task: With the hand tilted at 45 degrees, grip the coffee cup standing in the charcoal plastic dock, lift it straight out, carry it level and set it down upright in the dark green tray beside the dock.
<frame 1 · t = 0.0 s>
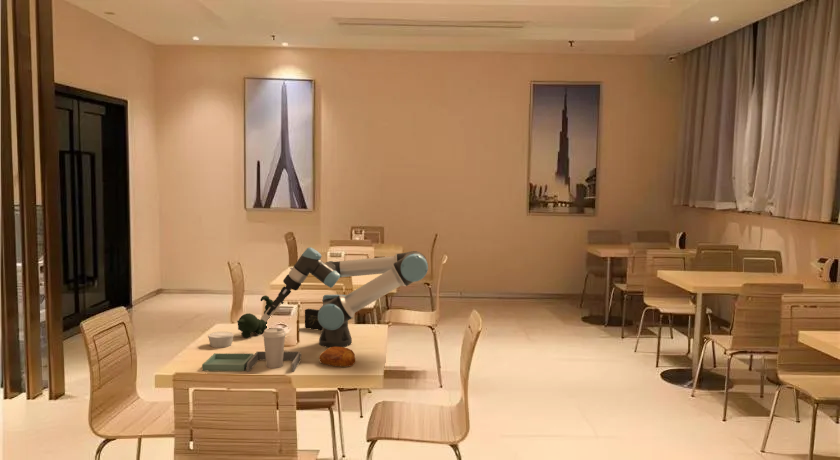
hand: (266, 316, 302), 15 cm above the table, fingers open, 13 cm apart
toy figurine: (255, 334, 333), on the table
tray: (228, 365, 280), on the table
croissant: (339, 363, 285), on the table
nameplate: (322, 330, 343), on the table
coffee cup: (274, 366, 279), resting in dock
ramekin: (221, 345, 312), on the table
dock: (274, 365, 279), on the table
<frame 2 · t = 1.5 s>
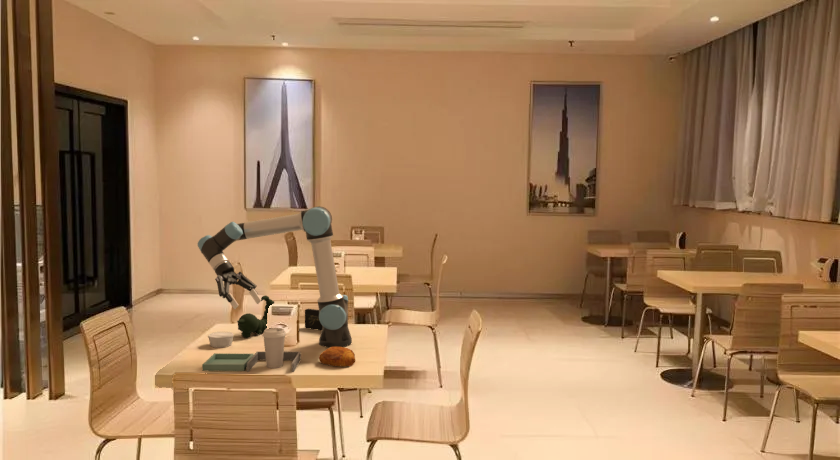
hand: (248, 304, 288), 23 cm above the table, fingers open, 13 cm apart
nothing on the table moved.
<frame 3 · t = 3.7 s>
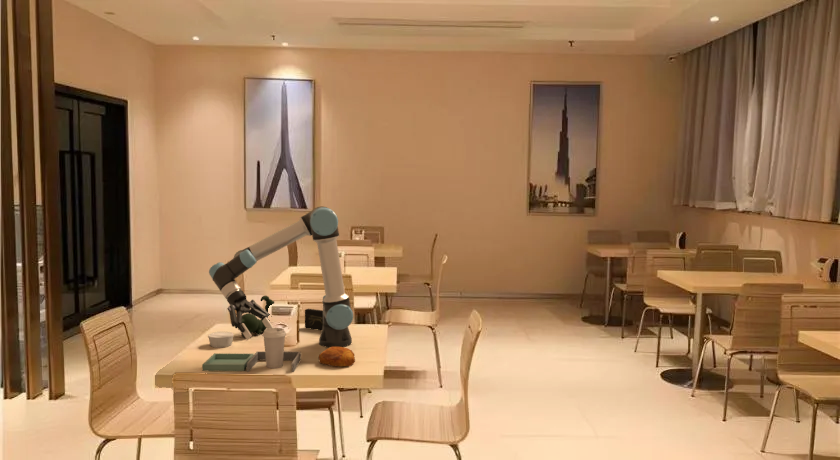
hand: (261, 334, 281), 13 cm above the table, fingers open, 13 cm apart
nothing on the table moved.
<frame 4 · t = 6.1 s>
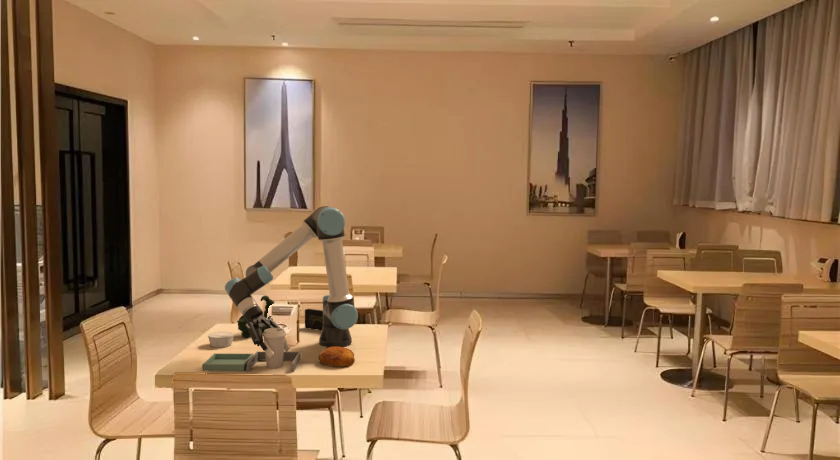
hand: (280, 352, 277), 6 cm above the table, fingers closed on coffee cup, 9 cm apart
coffee cup: (274, 366, 279), resting in dock, touching gripper
everything else where it was.
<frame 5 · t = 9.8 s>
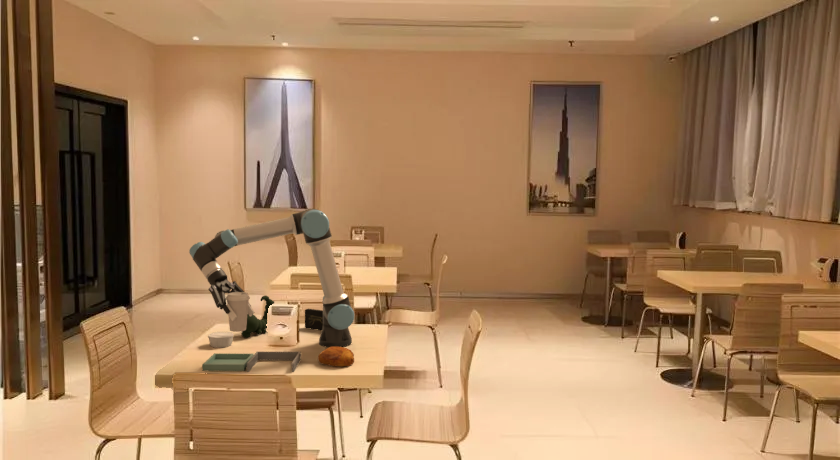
hand: (243, 316, 276), 21 cm above the table, fingers closed on coffee cup, 9 cm apart
coffee cup: (238, 330, 278), point 15 cm above the table, touching gripper
everything else where it was.
when the fingers open (7 cm above the table, at t = 13.9 s): coffee cup stays where it is, resting on tray.
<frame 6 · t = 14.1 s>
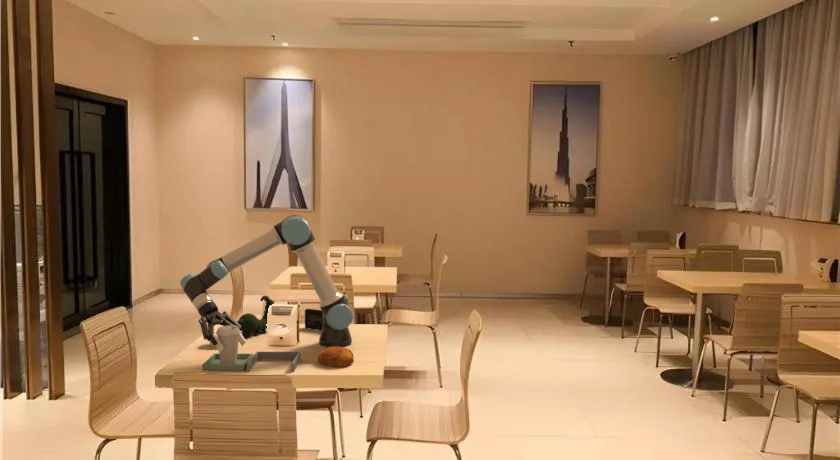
hand: (233, 347, 278), 8 cm above the table, fingers open, 12 cm apart
coffee cup: (228, 363, 280), resting on tray
everything else where it was.
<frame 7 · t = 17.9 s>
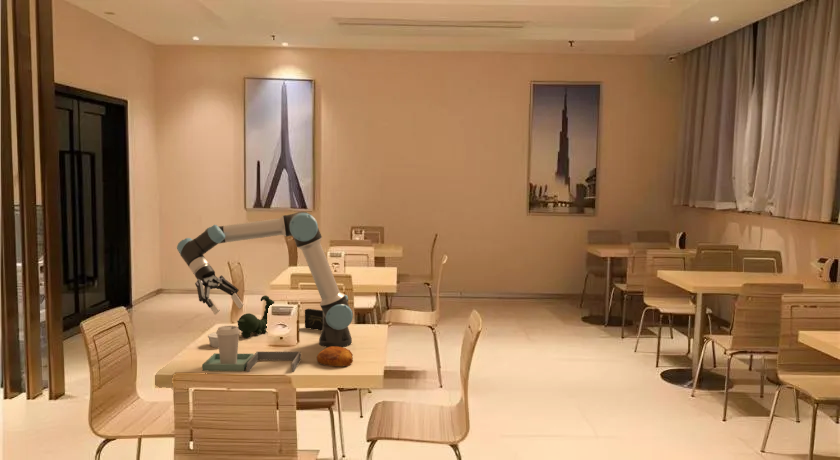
hand: (229, 309, 278), 23 cm above the table, fingers open, 13 cm apart
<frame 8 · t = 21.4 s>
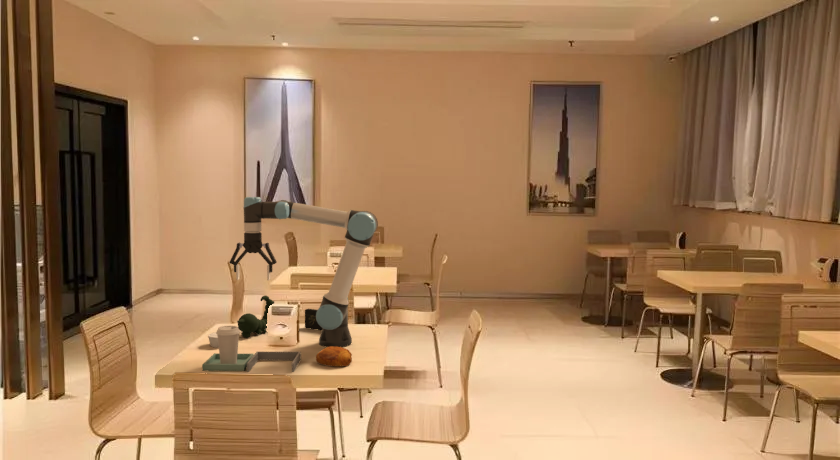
hand: (253, 279, 301), 32 cm above the table, fingers open, 13 cm apart
at the end: coffee cup inside the target area on the tray (0.1 cm from its centre), point 0.4 cm above the tray's base; coffee cup tilted 0°; the gripper is holding nothing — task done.
